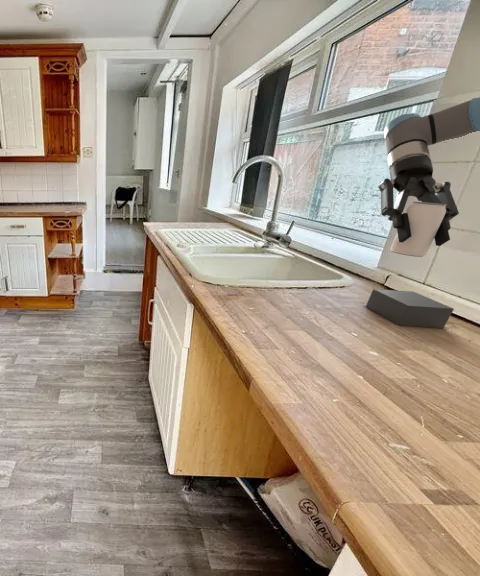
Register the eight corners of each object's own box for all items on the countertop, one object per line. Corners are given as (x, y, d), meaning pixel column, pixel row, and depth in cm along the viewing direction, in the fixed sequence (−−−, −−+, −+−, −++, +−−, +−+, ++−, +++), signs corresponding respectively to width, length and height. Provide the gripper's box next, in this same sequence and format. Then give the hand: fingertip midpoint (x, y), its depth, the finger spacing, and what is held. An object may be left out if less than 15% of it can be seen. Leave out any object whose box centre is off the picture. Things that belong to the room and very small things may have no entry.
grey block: (404, 309, 79) (413, 291, 77) (443, 328, 70) (454, 308, 68) (365, 306, 79) (373, 288, 78) (398, 325, 70) (408, 305, 68)
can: (420, 253, 76) (443, 203, 71) (428, 258, 71) (454, 205, 66) (386, 248, 79) (406, 200, 75) (392, 253, 74) (414, 202, 69)
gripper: (443, 178, 80) (461, 254, 71) (356, 174, 84) (364, 244, 76) (470, 155, 73) (494, 236, 65) (374, 152, 78) (384, 227, 69)
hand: (423, 240), depth 70 cm, fingers closed on can, 6 cm apart
